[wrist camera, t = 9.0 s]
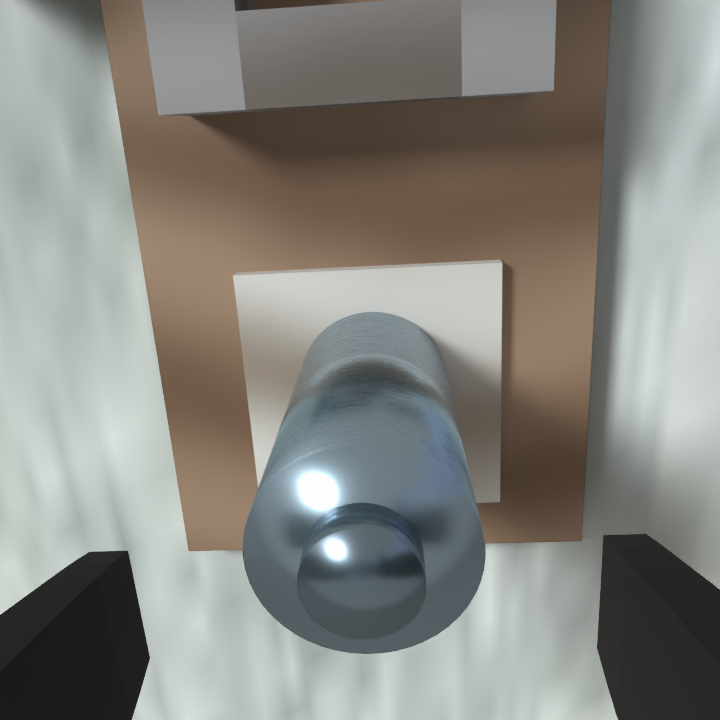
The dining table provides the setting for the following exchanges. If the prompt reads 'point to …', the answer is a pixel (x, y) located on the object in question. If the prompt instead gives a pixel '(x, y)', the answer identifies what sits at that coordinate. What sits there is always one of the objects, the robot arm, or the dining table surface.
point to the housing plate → (369, 223)
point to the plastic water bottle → (367, 495)
